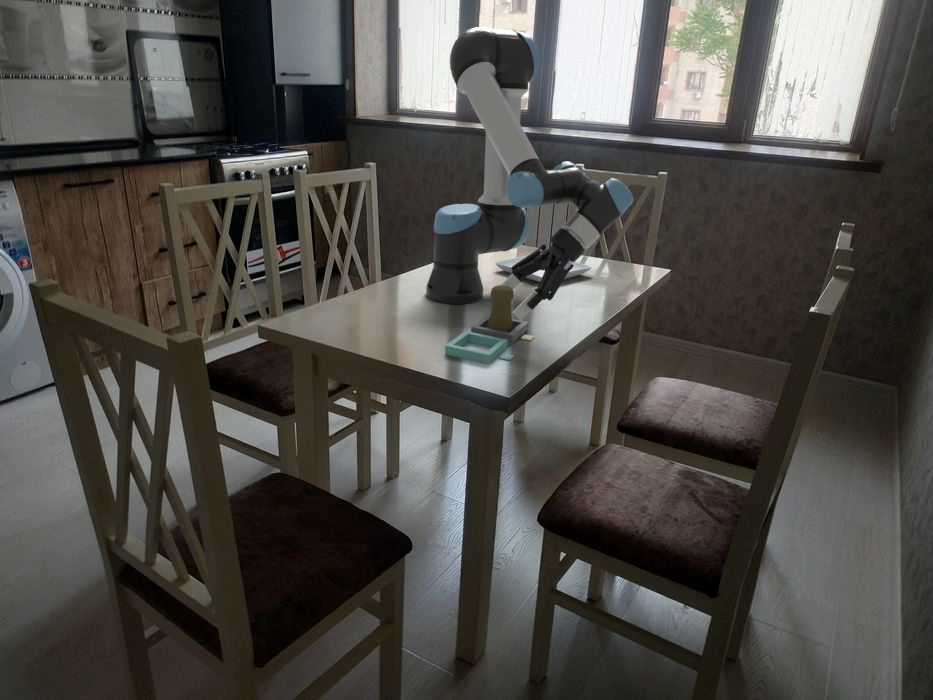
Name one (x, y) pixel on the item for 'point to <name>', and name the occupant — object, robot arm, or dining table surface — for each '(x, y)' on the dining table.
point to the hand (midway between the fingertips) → (506, 306)
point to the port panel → (487, 341)
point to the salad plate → (538, 275)
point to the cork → (501, 308)
